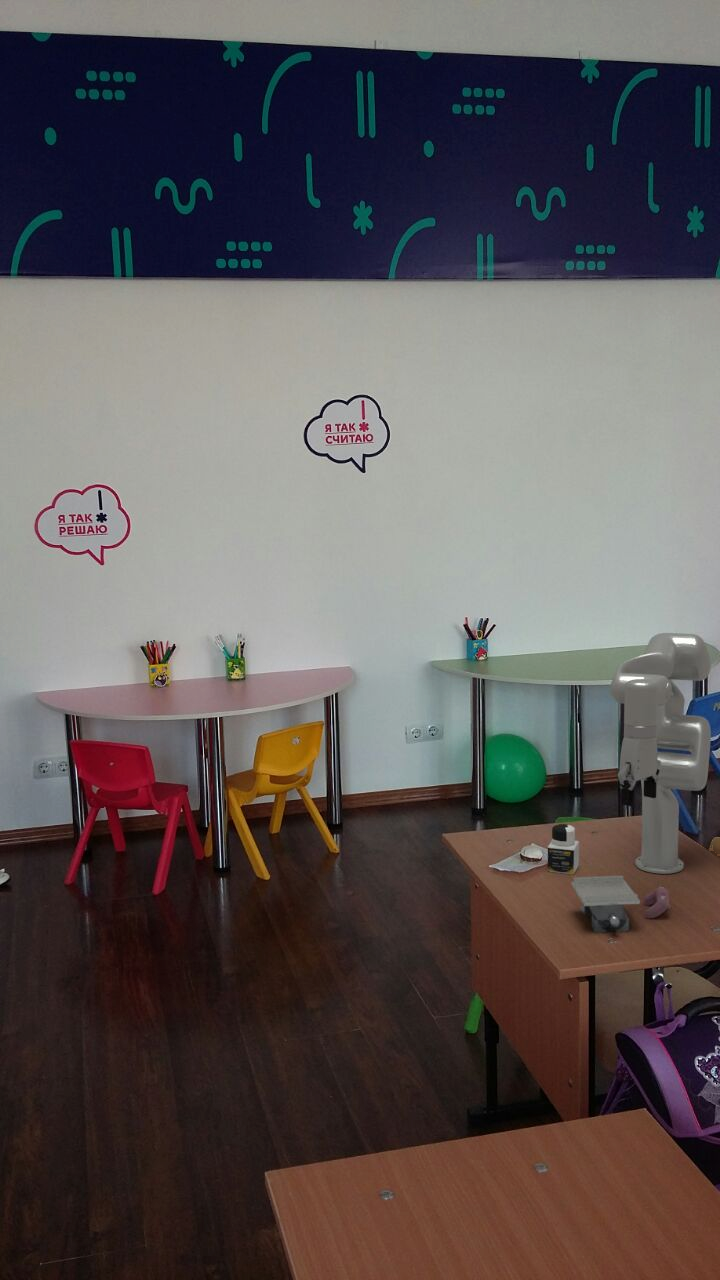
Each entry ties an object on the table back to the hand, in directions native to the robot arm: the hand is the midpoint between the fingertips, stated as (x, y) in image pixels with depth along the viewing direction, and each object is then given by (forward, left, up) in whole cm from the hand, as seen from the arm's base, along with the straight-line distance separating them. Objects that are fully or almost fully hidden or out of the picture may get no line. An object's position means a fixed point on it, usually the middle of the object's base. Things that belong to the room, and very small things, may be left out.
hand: (639, 801), depth 266 cm
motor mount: (+6, -9, -28) cm, 30 cm away
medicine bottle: (-30, -11, -28) cm, 43 cm away
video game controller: (+1, +4, -28) cm, 28 cm away
